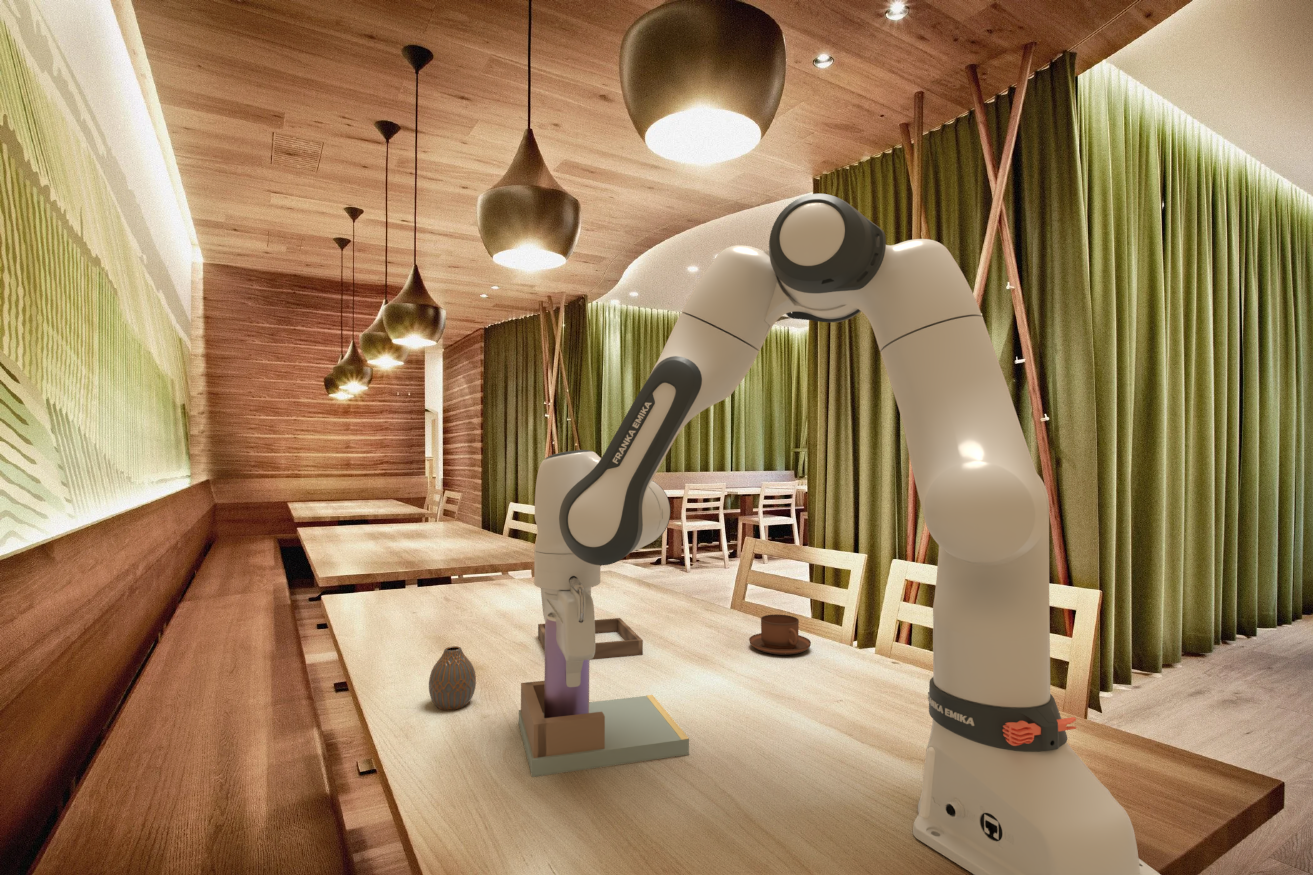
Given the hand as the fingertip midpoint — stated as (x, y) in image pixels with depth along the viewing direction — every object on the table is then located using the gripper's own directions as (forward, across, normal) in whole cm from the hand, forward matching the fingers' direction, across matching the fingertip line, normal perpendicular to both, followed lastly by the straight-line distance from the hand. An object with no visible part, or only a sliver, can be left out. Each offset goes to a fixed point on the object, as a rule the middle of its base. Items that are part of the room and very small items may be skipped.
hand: (567, 674), depth 88 cm
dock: (+9, 0, -4) cm, 10 cm away
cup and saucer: (+10, +29, -47) cm, 57 cm away
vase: (+9, +18, +14) cm, 25 cm away
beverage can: (+7, 0, 0) cm, 7 cm away
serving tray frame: (+9, +42, -12) cm, 44 cm away
